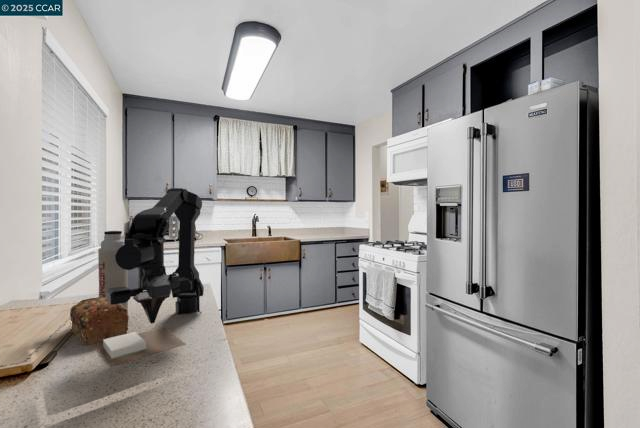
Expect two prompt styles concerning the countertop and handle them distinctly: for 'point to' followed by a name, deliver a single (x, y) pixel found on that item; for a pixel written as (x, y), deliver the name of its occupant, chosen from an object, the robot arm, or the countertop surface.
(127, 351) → the tile
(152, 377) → the countertop surface
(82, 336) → the bread
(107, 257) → the thermos bottle
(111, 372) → the countertop surface
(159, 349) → the board
